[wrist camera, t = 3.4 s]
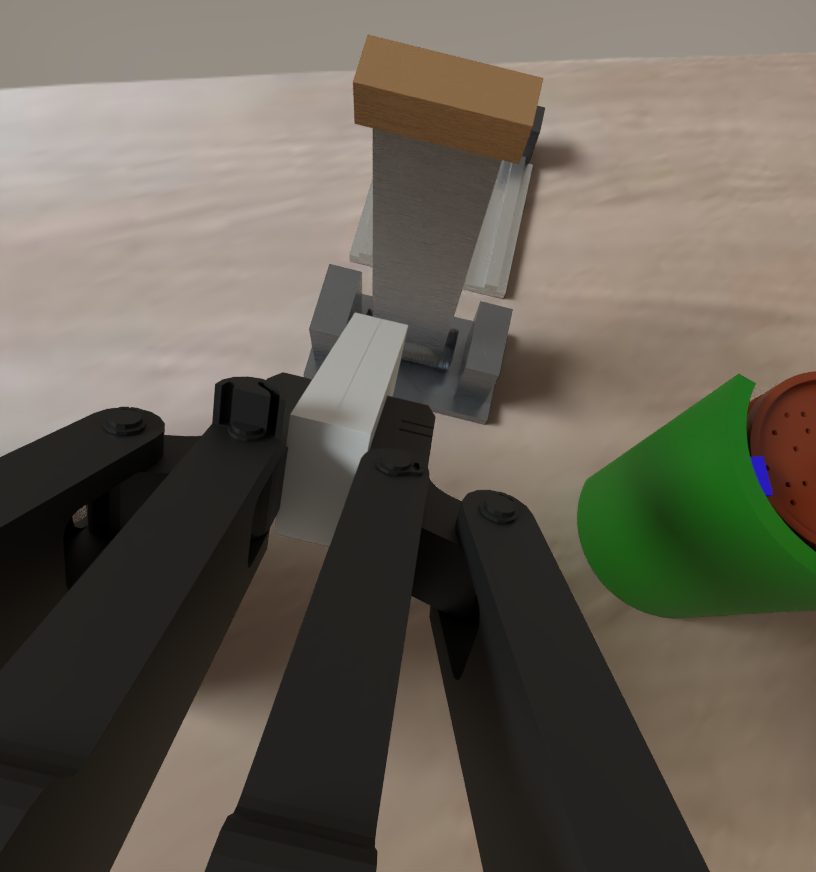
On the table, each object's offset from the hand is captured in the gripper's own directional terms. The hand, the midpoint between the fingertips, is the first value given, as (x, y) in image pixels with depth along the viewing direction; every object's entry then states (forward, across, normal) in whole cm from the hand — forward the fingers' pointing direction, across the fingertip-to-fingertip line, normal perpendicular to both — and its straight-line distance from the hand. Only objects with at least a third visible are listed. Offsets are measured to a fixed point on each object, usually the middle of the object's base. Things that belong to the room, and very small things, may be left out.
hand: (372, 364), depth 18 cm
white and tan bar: (+19, 0, +6) cm, 20 cm away
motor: (+15, -17, +12) cm, 26 cm away
